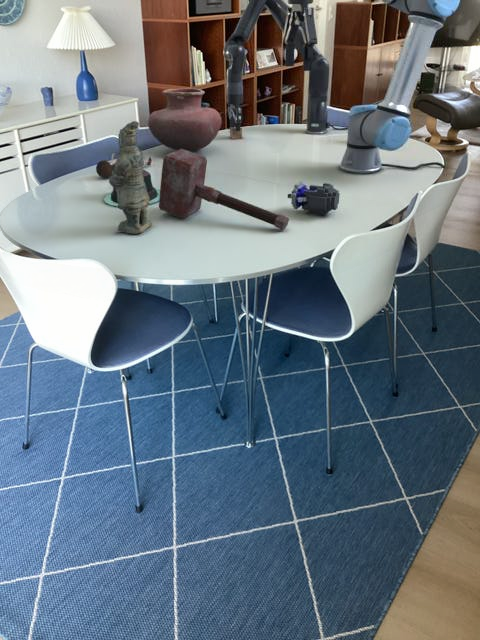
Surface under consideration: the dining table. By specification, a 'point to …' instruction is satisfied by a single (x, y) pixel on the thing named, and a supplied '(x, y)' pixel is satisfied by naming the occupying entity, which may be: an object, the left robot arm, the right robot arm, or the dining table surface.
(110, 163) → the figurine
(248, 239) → the dining table surface
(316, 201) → the toy
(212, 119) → the clay pot
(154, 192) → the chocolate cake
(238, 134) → the block
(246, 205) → the sledgehammer
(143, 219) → the statue
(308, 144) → the dining table surface
